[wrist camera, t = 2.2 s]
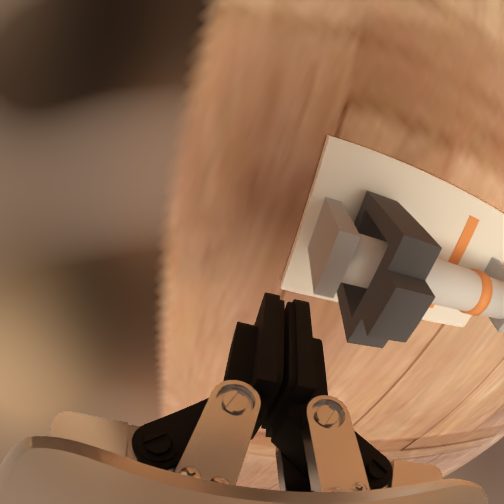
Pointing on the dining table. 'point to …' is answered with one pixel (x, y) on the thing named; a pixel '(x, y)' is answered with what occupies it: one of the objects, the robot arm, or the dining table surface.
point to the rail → (409, 193)
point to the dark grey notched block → (389, 276)
